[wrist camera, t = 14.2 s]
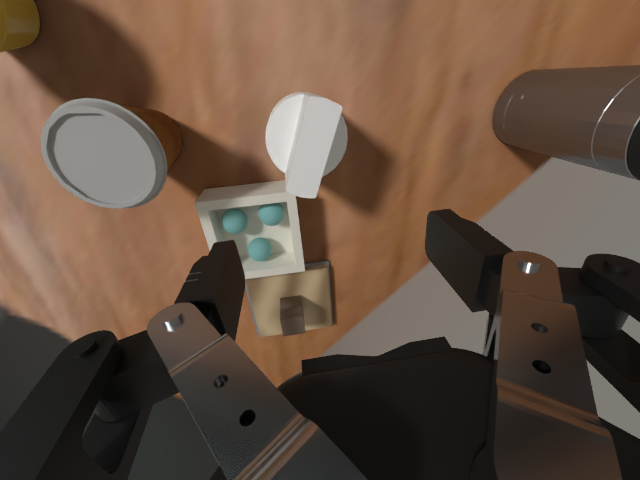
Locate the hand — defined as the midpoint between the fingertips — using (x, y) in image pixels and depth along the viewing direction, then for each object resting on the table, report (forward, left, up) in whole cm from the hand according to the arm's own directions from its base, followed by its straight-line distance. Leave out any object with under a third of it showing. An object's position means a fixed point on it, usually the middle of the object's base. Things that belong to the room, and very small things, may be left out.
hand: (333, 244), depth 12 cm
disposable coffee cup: (+17, -1, -28) cm, 33 cm away
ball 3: (+7, +15, -26) cm, 30 cm away
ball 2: (+5, +9, -26) cm, 27 cm away
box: (+7, +12, -28) cm, 31 cm away
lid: (+4, +27, -28) cm, 39 cm away
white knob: (-1, 0, -28) cm, 28 cm away
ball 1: (+10, +10, -26) cm, 29 cm away
